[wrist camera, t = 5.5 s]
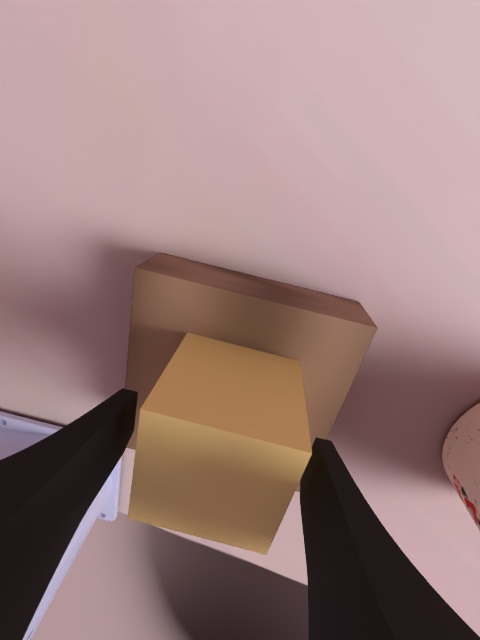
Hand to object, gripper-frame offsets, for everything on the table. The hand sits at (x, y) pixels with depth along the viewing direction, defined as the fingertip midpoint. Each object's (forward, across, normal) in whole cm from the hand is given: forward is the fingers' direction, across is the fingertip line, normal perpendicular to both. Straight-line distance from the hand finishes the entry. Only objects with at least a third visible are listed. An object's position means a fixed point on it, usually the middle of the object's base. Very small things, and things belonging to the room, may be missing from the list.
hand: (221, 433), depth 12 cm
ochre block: (+2, 0, 0) cm, 2 cm away
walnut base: (+5, 0, 0) cm, 5 cm away
